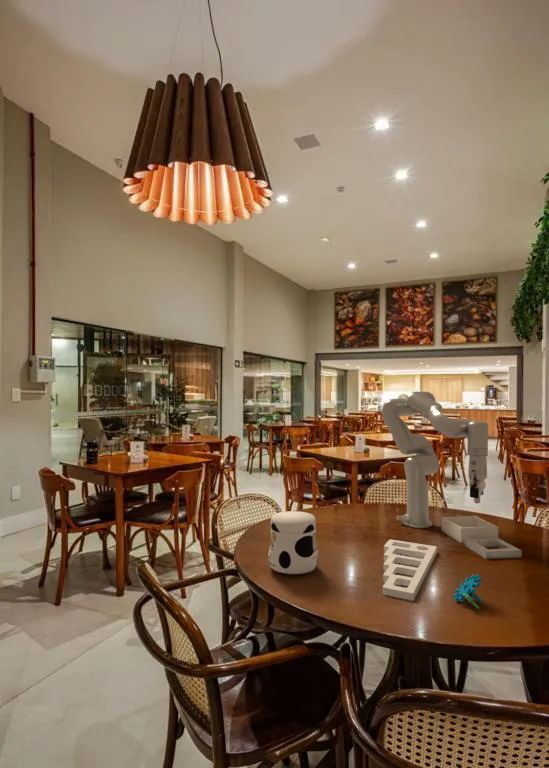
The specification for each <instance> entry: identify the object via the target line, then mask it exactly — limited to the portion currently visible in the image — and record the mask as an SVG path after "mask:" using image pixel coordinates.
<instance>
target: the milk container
mask: <svg viewBox="0 0 549 768" xmlns="http://www.w3.org/2000/svg"><path fill="white" fill-rule="evenodd" d="M316 525H317V522H316V517H315V515H314V514H311V513H310V512H306V511H299V510H298V511H293V510H292V511H290V510H289V511H280V512H276V513H275V514H274V513H273V515H272V516H271V518H270V545H269V549H268V553H267V559H268V565H269V566H270V568H271V569H272V570H273V571H274V572H276V573H277V574H280V575H283V576H289V577H290V576H303V575H307V574H310V573H312V572H314V571H315V570H316V569H317V567H318V565H319V557H320V553H319V550H318V546H317V539H316V538H317V529H316V528H317V527H316Z"/></svg>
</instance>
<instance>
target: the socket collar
mask: <svg viewBox="0 0 549 768" xmlns="http://www.w3.org/2000/svg"><path fill="white" fill-rule="evenodd" d="M464 546H465V547H466V548H468V549H469V550H471V551H473V552H474V553H476V554H477V555H479V556H481V557H482V558H484V560H490V559H491V560H492V559H513V558H522V554H523V553H522V549H519V548H517V547H516V546H514V545H512V544H511V543H508V542H507V541H504V540H503V539H502V538H499V537H498V538H489V539H466V540H465V543H464ZM489 548H490V549H489Z"/></svg>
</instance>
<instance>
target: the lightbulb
mask: <svg viewBox="0 0 549 768" xmlns="http://www.w3.org/2000/svg"><path fill="white" fill-rule="evenodd" d="M474 480H477V479H474ZM475 483H476V482H475ZM486 484H487V483H486V480H483V481H481V482H480V481H479V483H478V488H479V498H472V502H473V503H475V504H479V503H481V496H482V495H481V494H482V491H483V492H484V490H486V486H487V485H486ZM468 487H469V488H470V479H468Z"/></svg>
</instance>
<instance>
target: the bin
mask: <svg viewBox="0 0 549 768" xmlns="http://www.w3.org/2000/svg"><path fill="white" fill-rule="evenodd" d="M442 531H443V532H442ZM441 532H442V533H443V534H445V533H446V535H447V536H449V537H450V538H452V539H453V540H454V541H457V542H458V543H460V544H465V540H466V539H489V538H499V527H498V526H497V525H496V524H493V523H491V522H489V521H487V520H485V519H483V518H480V517H479V516H477V515H470V516H469V515H468V516H442V517H441Z"/></svg>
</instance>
